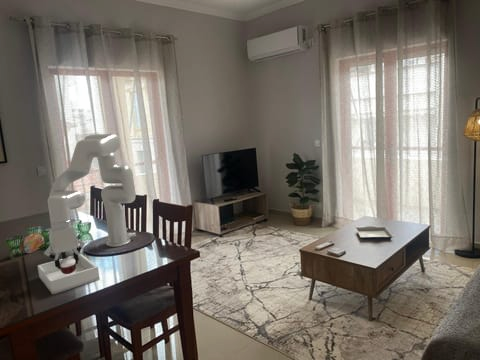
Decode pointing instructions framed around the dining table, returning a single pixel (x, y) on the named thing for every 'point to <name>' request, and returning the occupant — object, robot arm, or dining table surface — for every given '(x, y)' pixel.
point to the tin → (32, 242)
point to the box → (68, 275)
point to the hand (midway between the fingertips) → (67, 265)
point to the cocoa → (67, 264)
